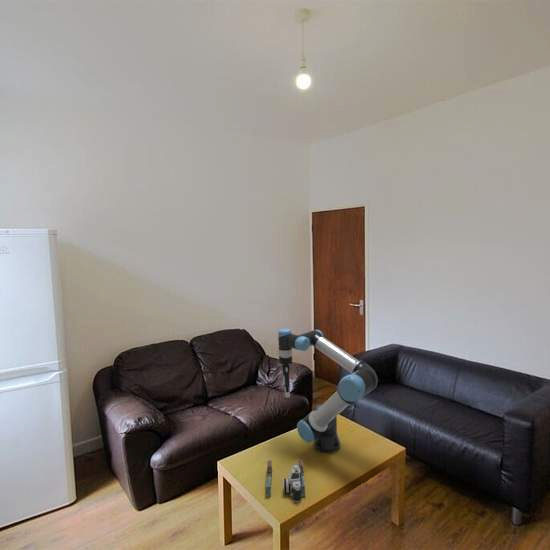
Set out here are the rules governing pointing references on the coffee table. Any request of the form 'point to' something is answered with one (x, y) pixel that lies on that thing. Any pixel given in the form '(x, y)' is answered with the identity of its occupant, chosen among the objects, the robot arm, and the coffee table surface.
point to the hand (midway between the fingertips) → (286, 391)
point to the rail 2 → (302, 478)
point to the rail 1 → (269, 479)
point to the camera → (293, 484)
